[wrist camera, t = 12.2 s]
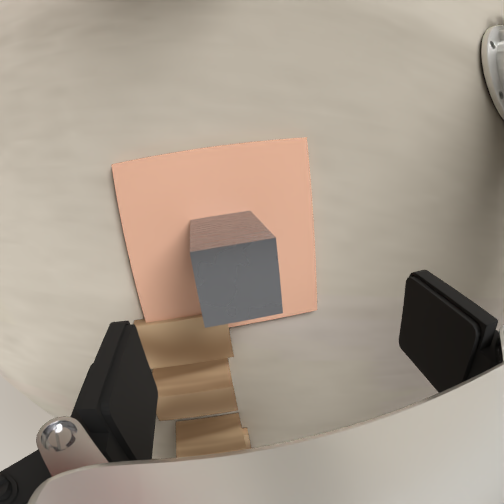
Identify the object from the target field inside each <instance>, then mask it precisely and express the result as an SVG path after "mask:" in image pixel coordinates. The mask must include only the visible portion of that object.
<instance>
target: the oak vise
mask: <svg viewBox="0 0 504 504" xmlns="http://www.w3.org/2000/svg"><path fill="white" fill-rule="evenodd" d="M134 325H135V326H136V328H137V331H138V334H139V337H140V340H141V343H142V346H143V349H144V352H145V355H146V358H147V361H148V364H149V367H150V369H153V372H152V375H153V378H154V380H155V383H156V386H157V389H158V401H157V410H156V415H157V417H158V419H159V421H164V420H174V419H182V418H190V417H198V416H205V415H212V414H218V413H225V412H231V411H236V410H238V407H237V402H236V397H235V393H234V388H233V383H232V378H231V373H230V368H229V363H228V358H229V357H234V355H233V350H232V344H231V338H230V332H229V327H228V324H224V325H218V326H213V327H207V328H205V326H204V321H203V317H202V314H200V315H194V316H187V317H181V318H174V319H168V320H161V321H154V322H147V323H146V321H145V319H141V320H135V321H134ZM245 449H251V444H250V439H249V434H248V430H247V428H242V427H241V422H240V417H239V413H233V414H227V415H221V416H214V417H208V418H201V419H193V420H185V421H177V422H176V458H179V457H190V456H200V455H208V454H216V453H224V452H232V451H239V450H245Z"/></svg>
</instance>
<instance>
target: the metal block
mask: <svg viewBox="0 0 504 504" xmlns="http://www.w3.org/2000/svg"><path fill="white" fill-rule="evenodd" d="M190 257H191V262H192V267H193V272H194V278H195V283H196V288H197V293H198V297H199V302H200V307H201V312H202V317H203V321H204V326H205V328H207V327H213V326H218V325H224V324H230V323H235V322H241V321H246V320H251V319H256V318H261V317H267V316H272V315H277V314H281V313H283V307H282V295H281V284H280V273H279V262H278V252H277V242H276V237H275V236H274V235H273V234H272V233H271V232H270V231H269V230H268V229H267V228H266V227H265V225H264V224H263V223H262V222H261V221H260V220H259V219H258V218H257V217H256V216H255V215H254V214H253V213H252V212H251V211H243V212H236V213H230V214H224V215H218V216H211V217H205V218H199V219H193V220H190Z"/></svg>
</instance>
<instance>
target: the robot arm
mask: <svg viewBox="0 0 504 504" xmlns="http://www.w3.org/2000/svg"><path fill="white" fill-rule="evenodd" d="M481 55H482V65H483V71H484V76H485V80H486V84H487V87H488V90H489V93H490V95H491V98H492V100H493V102H494V105H495V107H496V108H497V110H498V112H499V114H500V116H501V117H502V118H503V120H504V25H496V26H492V27H490V28H489V29H487V30H486V32H485V34H484V36H483V40H482V48H481ZM497 323H498V320H497V319H496V318H494V317H493V316H492V315H490V314H489V313H488V312H486V311H485V310H483V309H482V308H481V307H479V306H478V305H477V304H475V303H474V302H472V301H471V300H470V299H468V298H467V297H465V296H464V295H462V294H461V293H460V292H458V291H457V290H455V289H454V288H452V287H451V286H449V285H448V284H446V283H445V282H444V281H442V280H441V279H439V278H438V277H436V276H435V275H433V274H432V273H430V272H429V271H427V270H422V271H417V272H413V273H411V274H410V276H409V278H407V280H406V288H405V297H404V306H403V314H402V321H401V329H400V335H399V345H400V347H401V349H402V350H403V351H404V352H405V354H406V355H407V356H408V357H409V358H410V359H411V360H412V362H413V363H414V364H415V365H416V366H417V367H418V369H419V370H420V371H421V372H422V373H423V374H424V376H425V377H426V378H427V379H428V380H429V381H430V383H431V384H432V385H433V386H434V387H435V389H436V390H437V391H438V392H439V393H438V394H436V395H434V396H431V397H429V398H426V399H424V400H422V401H419V402H417V403H414V404H411V405H409V406H406V407H404V408H401V409H398V410H396V411H393V412H390V413H387V414H384V415H381V416H379V417H376V418H373V419H370V420H366V421H363V422H360V423H357V424H354V425H350V426H347V427H344V428H340V429H336V430H333V431H329V432H325V433H322V434H318V435H314V436H310V437H305V438H301V439H297V440H292V441H288V442H283V443H278V444H273V445H268V446H263V447H257V448H251V449H245V450H239V451H232V452H224V453H216V454H208V455H200V456H190V457H179V458H166V459H152V449H153V439H154V429H155V419H156V410H157V401H158V389H157V386H156V383H155V380H154V378H153V375H152V372H151V369H150V367H149V364H148V361H147V358H146V355H145V352H144V349H143V346H142V343H141V340H140V337H139V334H138V331H137V328H136V326H135V325H134V324H133V325H130V323H129V321H120V322H112V323H111V324H110V326H109V328H108V330H107V332H106V335H105V337H104V339H103V342H102V344H101V346H100V349H99V351H98V353H97V356H96V358H95V361H94V363H93V364H92V365H91V366H90V368H89V371H88V373H87V376H86V378H85V381H84V383H83V386H82V388H81V391H80V393H79V396H78V399H77V401H76V404H75V407H74V409H73V412H72V415H71V417H66V416H62V417H57V418H54V419H52V420H50V421H48V422H47V423H45V424H44V425H43V426H42V427H41V428H40V430H39V432H38V434H37V438H36V443H37V447H38V450H37V451H35V452H33V453H32V454H30V455H28V456H27V457H25V458H23V459H22V460H20V461H18V462H17V463H15V464H13V465H11V466H10V467H8V468H6V469H4V470H3V471H1V472H0V504H504V325H503V326H502V327H501V328H500V330H499V332H498V331H497V330H496V327H497Z"/></svg>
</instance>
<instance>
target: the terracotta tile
mask: <svg viewBox="0 0 504 504" xmlns="http://www.w3.org/2000/svg"><path fill="white" fill-rule="evenodd" d="M112 172H113V178H114V184H115V190H116V196H117V201H118V207H119V212H120V217H121V222H122V227H123V232H124V237H125V242H126V246H127V251H128V255H129V259H130V264H131V268H132V272H133V276H134V280H135V284H136V288H137V292H138V296H139V299H140V303H141V307H142V310H143V314H144V317H145V321H146V323H147V322H154V321H161V320H168V319H174V318H181V317H187V316H194V315H200V314H202V312H201V307H200V302H199V297H198V293H197V288H196V283H195V278H194V272H193V267H192V262H191V257H190V220H193V219H199V218H205V217H211V216H218V215H224V214H230V213H236V212H243V211H251V212H252V213H253V214H254V215H255V216H256V217H257V218H258V219H259V220H260V221H261V222H262V223H263V224H264V225H265V227H266V228H267V229H268V230H269V231H270V232H271V233H272V234H273V235H274V236H275V237H276V242H277V252H278V262H279V273H280V284H281V295H282V307H283V313H281V314H277V315H272V316H267V317H261V318H256V319H251V320H246V321H241V322H235V323H230V324H228V327H234V326H240V325H245V324H251V323H256V322H261V321H267V320H272V319H277V318H282V317H287V316H292V315H297V314H301V313H306V312H311V311H315V310H317V286H316V260H315V239H314V222H313V206H312V192H311V179H310V167H309V156H308V145H307V137H306V138H291V139H279V140H268V141H257V142H248V143H239V144H230V145H222V146H215V147H207V148H200V149H194V150H187V151H181V152H174V153H168V154H163V155H157V156H152V157H146V158H141V159H136V160H131V161H126V162H121V163H116V164H112Z"/></svg>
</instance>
